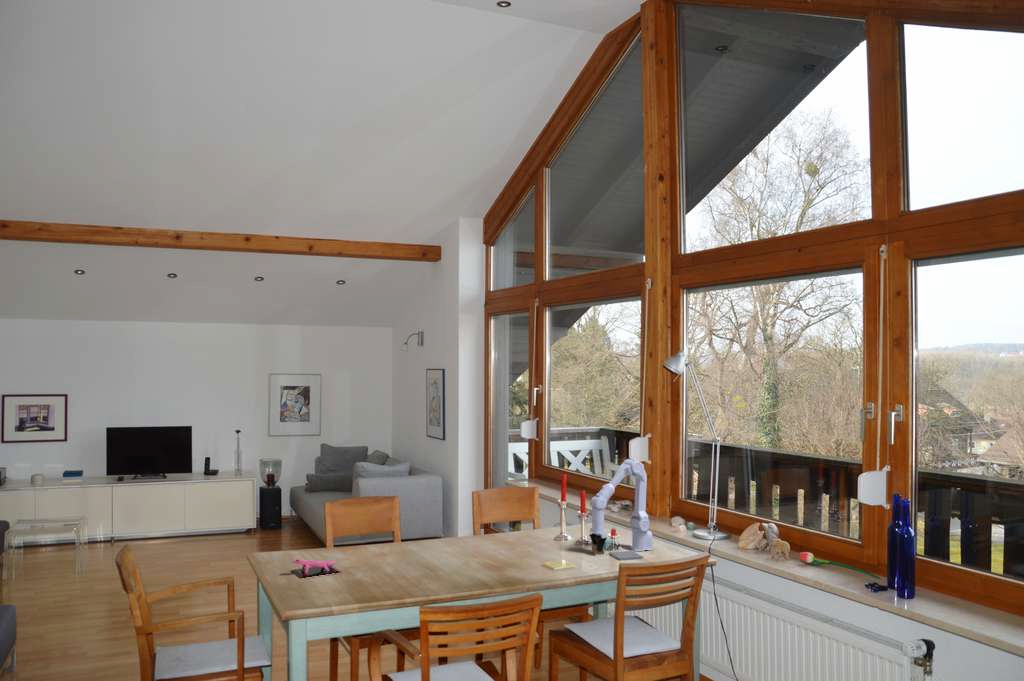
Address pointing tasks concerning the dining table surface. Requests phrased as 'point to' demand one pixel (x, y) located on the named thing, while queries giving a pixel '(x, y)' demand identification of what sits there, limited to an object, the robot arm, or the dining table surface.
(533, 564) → the dining table surface
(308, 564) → the pink animal figurine
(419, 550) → the dining table surface
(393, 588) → the dining table surface
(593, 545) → the brown cube
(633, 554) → the base plate
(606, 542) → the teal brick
